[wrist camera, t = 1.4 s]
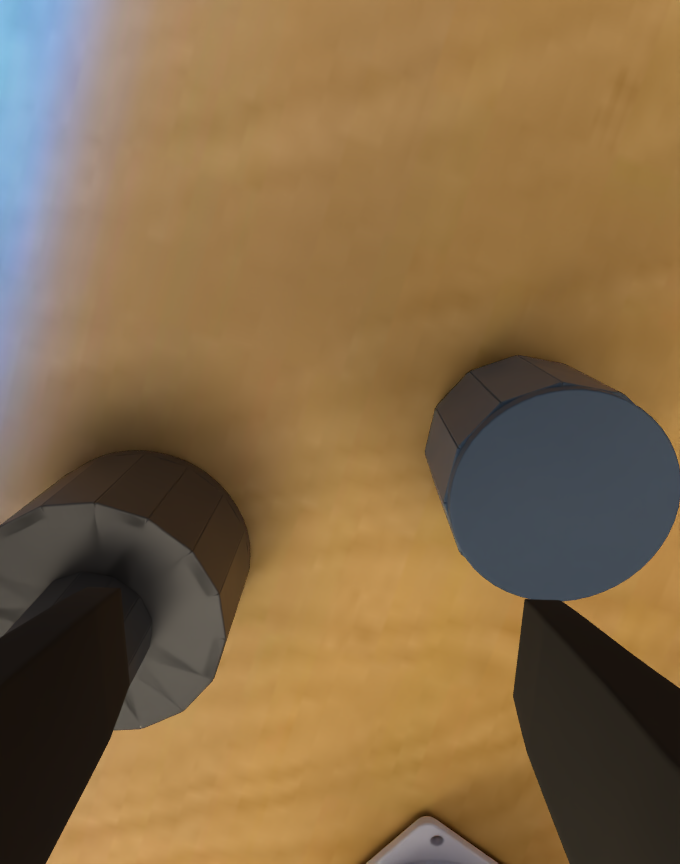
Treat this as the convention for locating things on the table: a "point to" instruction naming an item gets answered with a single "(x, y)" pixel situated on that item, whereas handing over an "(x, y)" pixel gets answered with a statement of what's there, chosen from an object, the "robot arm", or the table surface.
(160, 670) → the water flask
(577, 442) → the dark grey short cylinder
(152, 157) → the table surface
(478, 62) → the table surface
